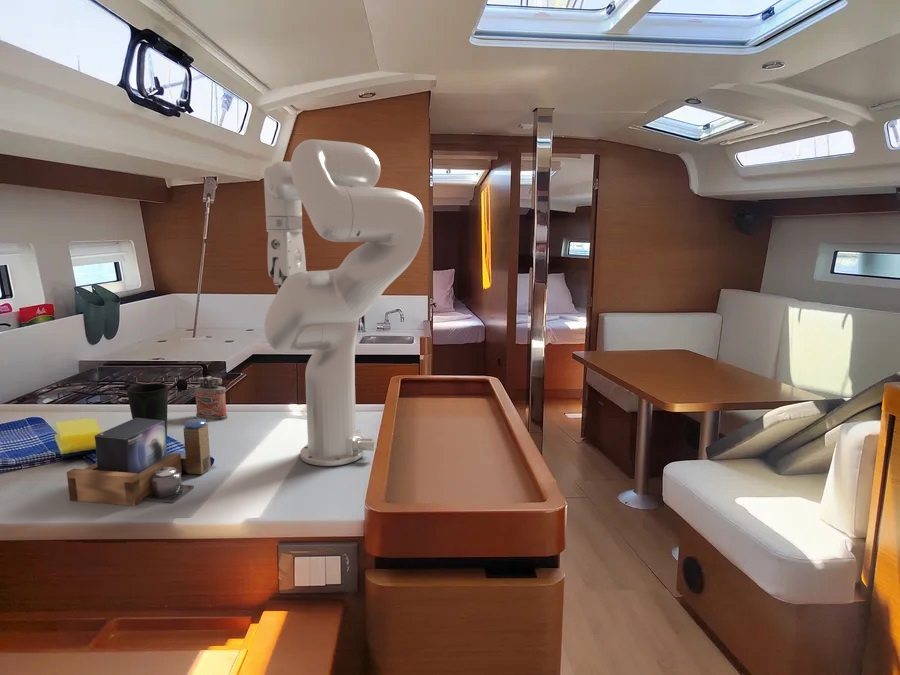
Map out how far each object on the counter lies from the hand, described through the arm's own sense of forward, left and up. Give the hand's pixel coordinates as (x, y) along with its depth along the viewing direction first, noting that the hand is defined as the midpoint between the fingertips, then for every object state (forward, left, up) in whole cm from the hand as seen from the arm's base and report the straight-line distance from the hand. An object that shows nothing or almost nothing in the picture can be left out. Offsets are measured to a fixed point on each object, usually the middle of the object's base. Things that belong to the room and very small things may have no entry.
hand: (288, 309), depth 133 cm
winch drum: (+6, +37, -27) cm, 46 cm away
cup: (+25, +15, -27) cm, 40 cm away
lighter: (+22, -3, -27) cm, 35 cm away
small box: (+15, +34, -27) cm, 46 cm away
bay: (+15, +36, -27) cm, 47 cm away
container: (+12, +28, -27) cm, 40 cm away
